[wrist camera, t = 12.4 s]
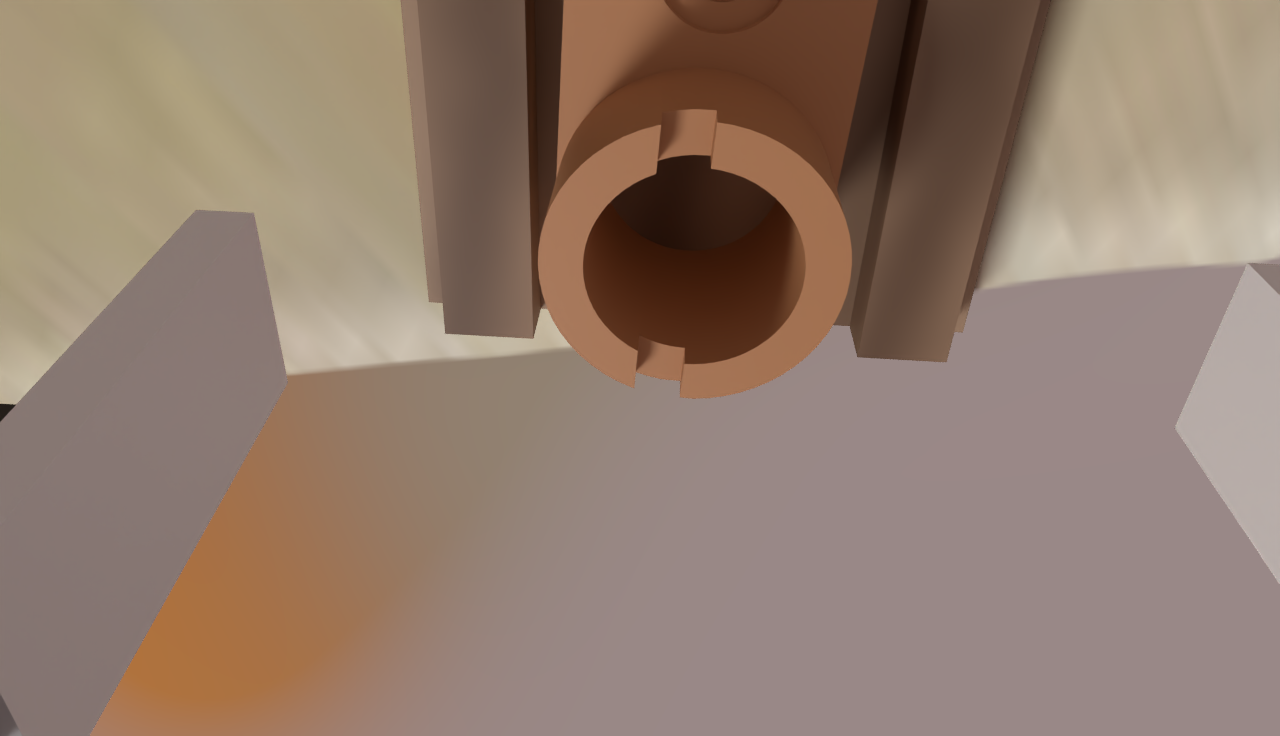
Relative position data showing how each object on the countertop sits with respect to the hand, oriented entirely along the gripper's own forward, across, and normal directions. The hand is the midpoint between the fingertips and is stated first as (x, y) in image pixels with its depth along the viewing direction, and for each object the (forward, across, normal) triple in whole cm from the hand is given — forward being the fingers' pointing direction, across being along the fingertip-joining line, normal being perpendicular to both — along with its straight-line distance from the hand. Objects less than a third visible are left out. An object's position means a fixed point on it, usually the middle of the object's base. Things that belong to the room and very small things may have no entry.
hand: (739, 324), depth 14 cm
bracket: (+19, 0, -1) cm, 19 cm away
